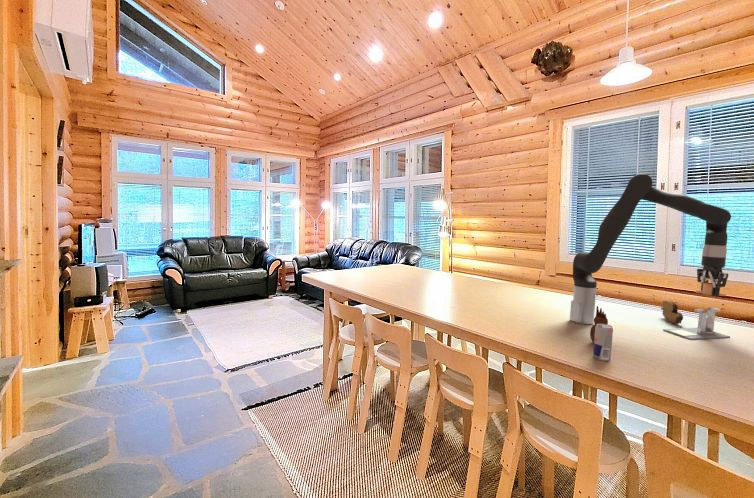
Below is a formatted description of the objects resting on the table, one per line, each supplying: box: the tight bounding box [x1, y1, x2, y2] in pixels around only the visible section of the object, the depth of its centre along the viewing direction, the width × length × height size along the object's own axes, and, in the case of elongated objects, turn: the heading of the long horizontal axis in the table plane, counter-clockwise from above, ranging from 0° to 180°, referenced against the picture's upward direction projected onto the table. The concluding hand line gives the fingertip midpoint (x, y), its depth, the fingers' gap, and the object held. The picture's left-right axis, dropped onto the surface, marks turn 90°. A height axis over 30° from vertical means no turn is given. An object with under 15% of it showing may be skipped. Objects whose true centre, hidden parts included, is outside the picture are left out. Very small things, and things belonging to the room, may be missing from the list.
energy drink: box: [592, 324, 614, 362], centre depth 131 cm, size 5×5×12 cm
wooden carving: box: [660, 300, 684, 324], centre depth 177 cm, size 16×5×10 cm, turn 168°
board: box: [662, 327, 731, 341], centre depth 160 cm, size 20×12×1 cm, turn 99°
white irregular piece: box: [694, 307, 722, 334], centre depth 160 cm, size 11×5×10 cm, turn 99°
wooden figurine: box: [589, 305, 609, 344], centre depth 145 cm, size 7×6×15 cm
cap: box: [695, 281, 727, 297], centre depth 158 cm, size 10×5×5 cm, turn 45°
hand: (709, 294), depth 158 cm, fingers closed on cap, 5 cm apart
